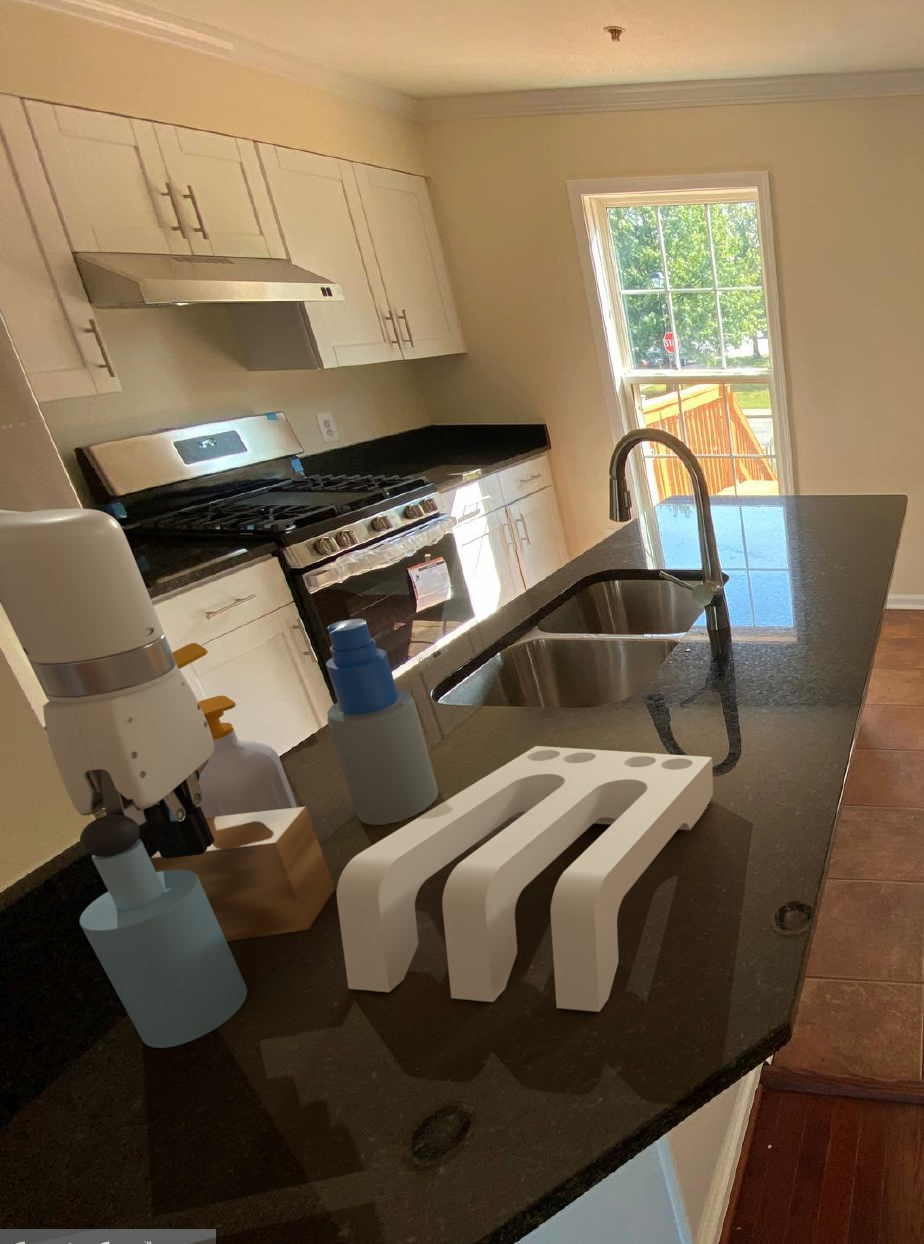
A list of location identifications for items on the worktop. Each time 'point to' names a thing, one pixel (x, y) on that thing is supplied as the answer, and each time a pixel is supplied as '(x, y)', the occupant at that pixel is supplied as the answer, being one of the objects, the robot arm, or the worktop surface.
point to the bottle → (158, 940)
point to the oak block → (260, 872)
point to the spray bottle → (376, 730)
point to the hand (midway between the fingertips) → (189, 850)
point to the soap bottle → (236, 762)
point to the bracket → (521, 869)
